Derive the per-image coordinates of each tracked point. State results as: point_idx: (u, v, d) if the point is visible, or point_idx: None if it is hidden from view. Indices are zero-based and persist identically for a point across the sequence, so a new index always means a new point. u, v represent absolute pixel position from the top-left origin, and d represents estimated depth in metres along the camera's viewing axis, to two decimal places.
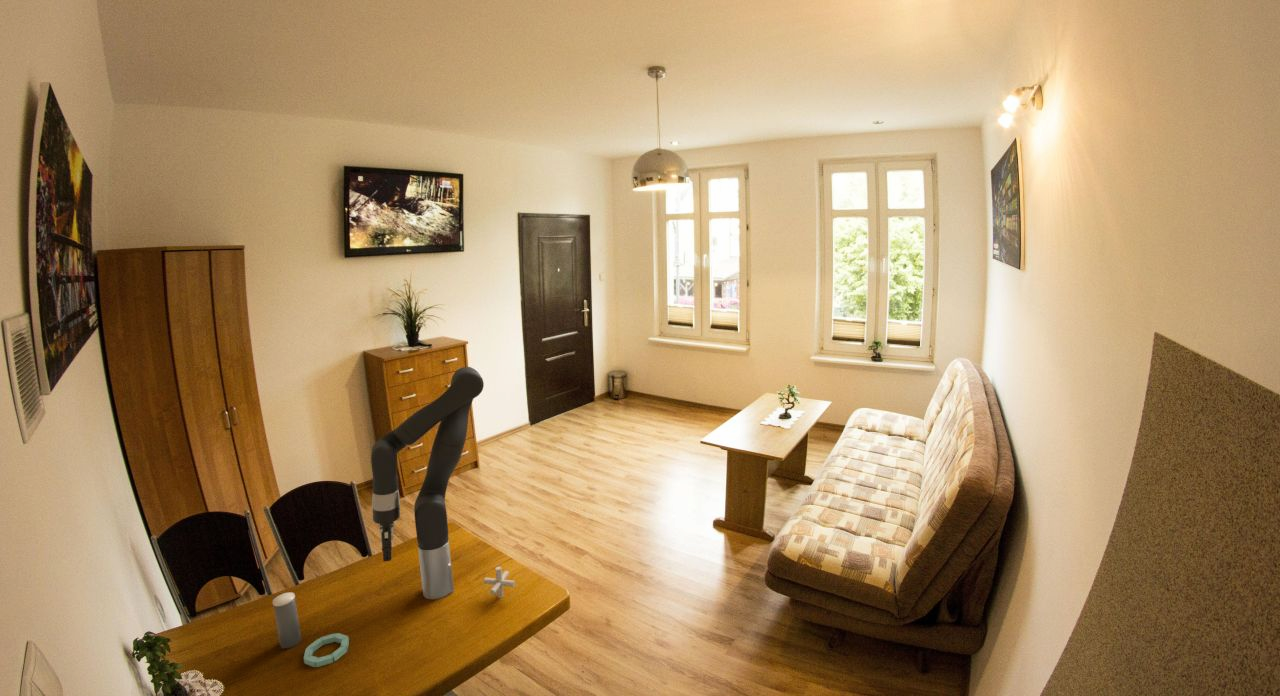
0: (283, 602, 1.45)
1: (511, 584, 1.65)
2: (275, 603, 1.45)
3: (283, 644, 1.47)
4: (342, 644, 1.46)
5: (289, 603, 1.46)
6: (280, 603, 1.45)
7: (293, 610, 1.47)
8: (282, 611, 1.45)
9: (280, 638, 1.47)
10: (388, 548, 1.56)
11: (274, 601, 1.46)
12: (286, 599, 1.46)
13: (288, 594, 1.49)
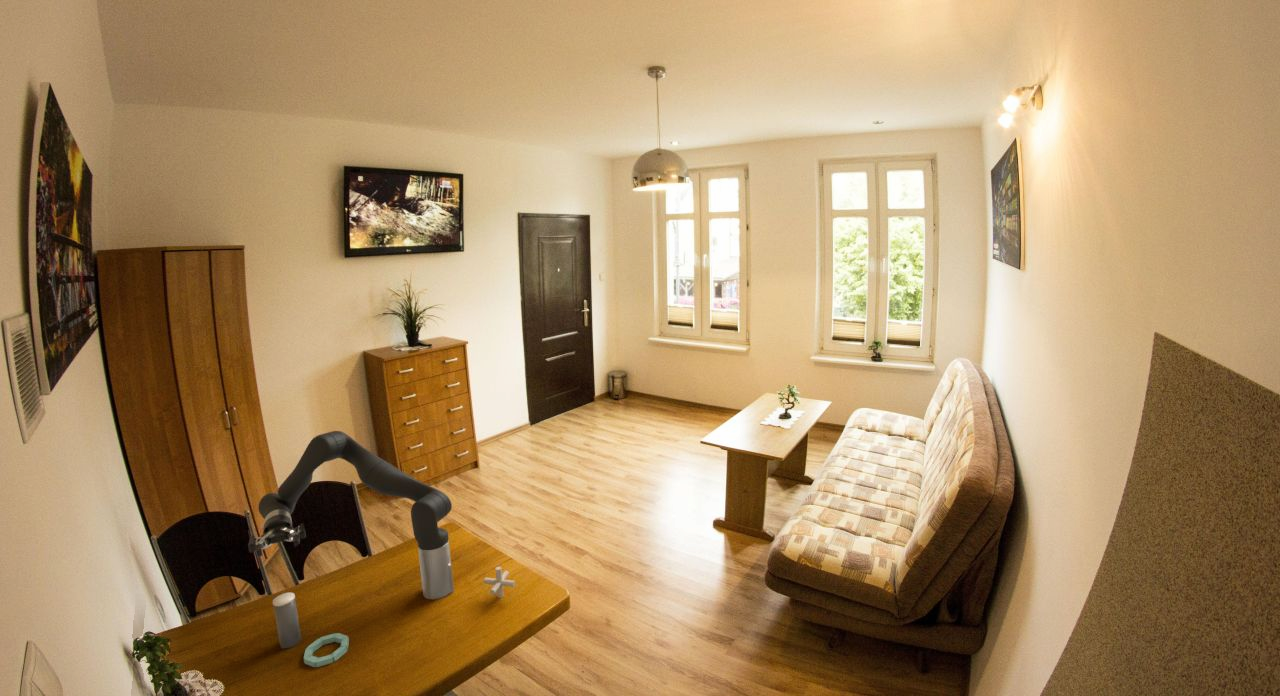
0: (283, 602, 1.45)
1: (511, 584, 1.65)
2: (275, 603, 1.45)
3: (283, 644, 1.47)
4: (342, 644, 1.46)
5: (289, 603, 1.46)
6: (280, 603, 1.45)
7: (293, 610, 1.47)
8: (282, 611, 1.45)
9: (280, 638, 1.47)
10: None
11: (274, 601, 1.46)
12: (286, 599, 1.46)
13: (288, 594, 1.49)
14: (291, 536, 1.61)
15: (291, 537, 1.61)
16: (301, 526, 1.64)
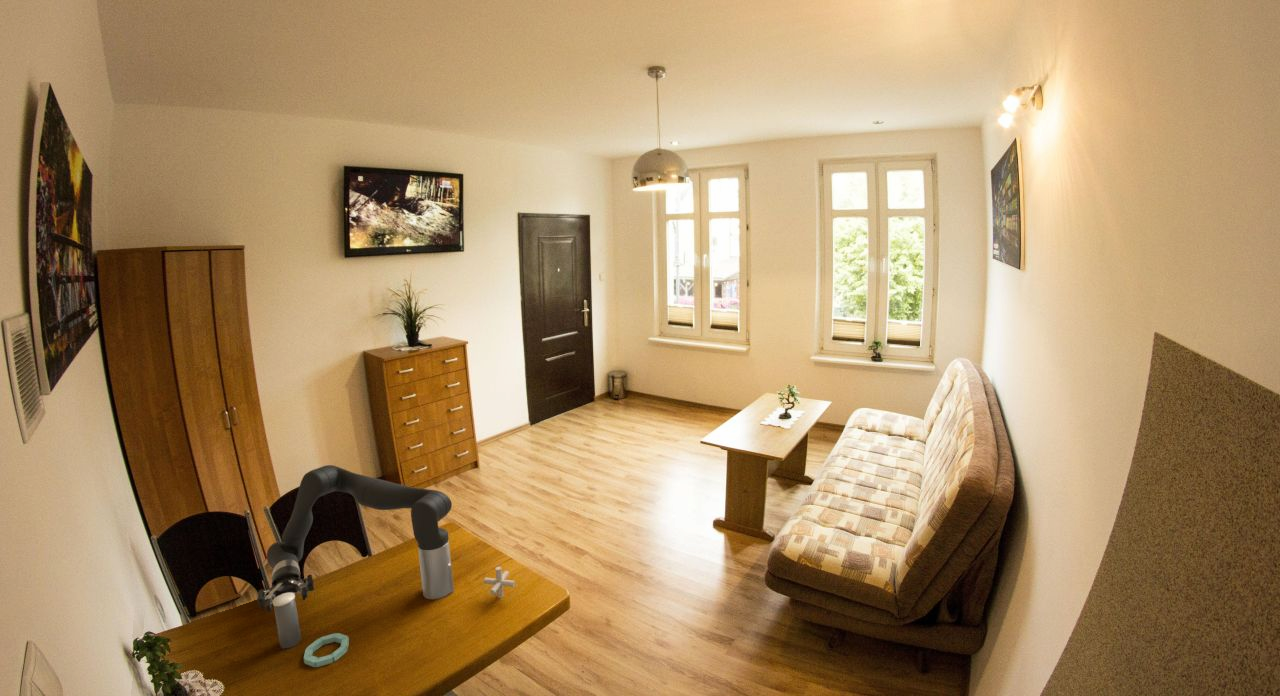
0: (283, 602, 1.45)
1: (511, 584, 1.65)
2: (275, 603, 1.45)
3: (283, 644, 1.47)
4: (342, 644, 1.46)
5: (289, 603, 1.46)
6: (280, 603, 1.45)
7: (293, 610, 1.47)
8: (282, 611, 1.45)
9: (280, 638, 1.47)
10: None
11: (274, 601, 1.46)
12: (286, 599, 1.46)
13: (288, 594, 1.49)
14: (299, 589, 1.61)
15: (299, 590, 1.61)
16: (309, 578, 1.65)
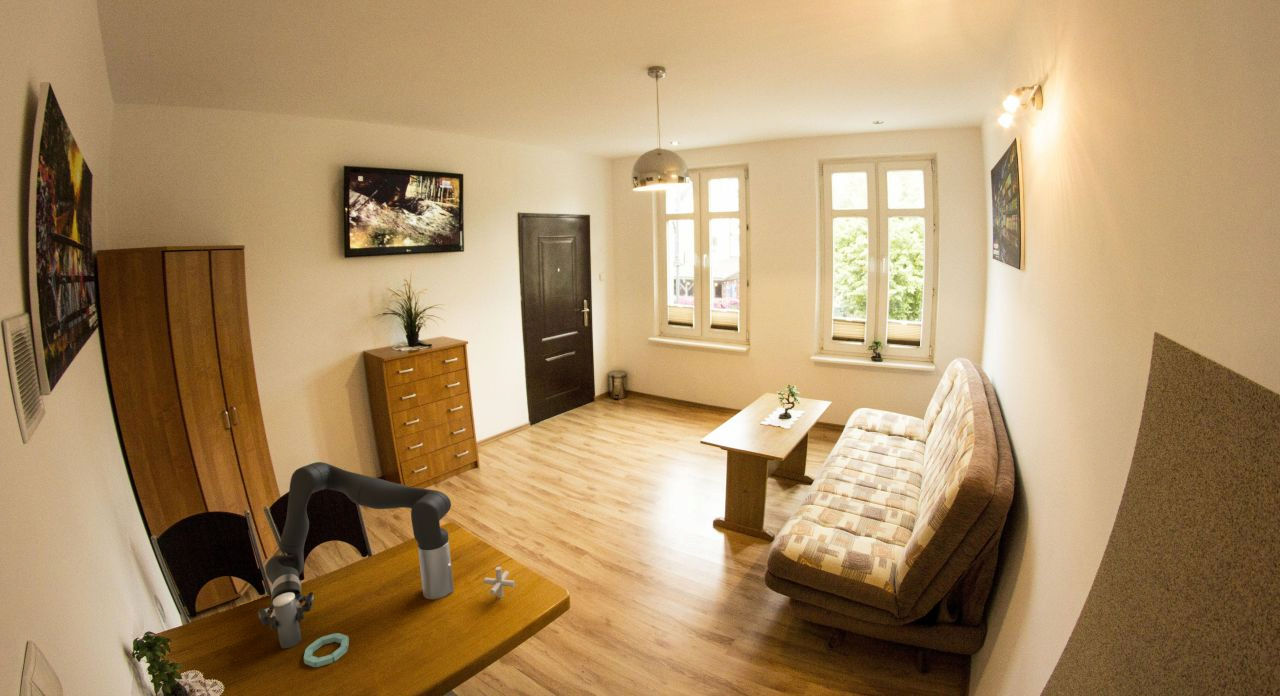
0: (283, 602, 1.45)
1: (511, 584, 1.65)
2: (275, 603, 1.45)
3: (283, 644, 1.47)
4: (342, 644, 1.46)
5: (289, 603, 1.46)
6: (280, 603, 1.45)
7: (293, 610, 1.47)
8: (282, 611, 1.45)
9: (280, 638, 1.47)
10: None
11: (274, 601, 1.46)
12: (286, 599, 1.46)
13: (288, 594, 1.49)
14: None
15: None
16: (309, 596, 1.55)
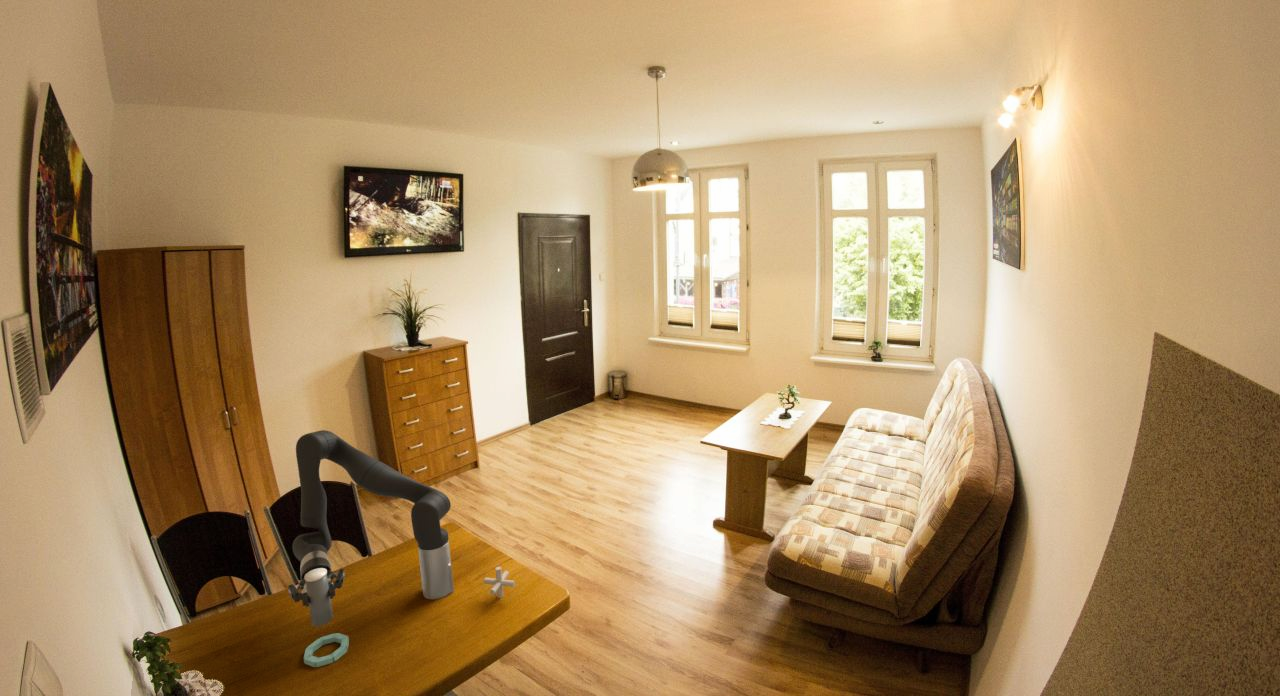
0: (315, 577, 1.39)
1: (511, 584, 1.65)
2: (307, 578, 1.39)
3: (315, 621, 1.41)
4: (342, 644, 1.46)
5: (321, 579, 1.40)
6: (312, 578, 1.39)
7: (325, 586, 1.41)
8: (314, 586, 1.39)
9: (311, 615, 1.41)
10: None
11: (306, 576, 1.40)
12: (318, 574, 1.41)
13: (320, 570, 1.43)
14: None
15: None
16: (340, 573, 1.50)
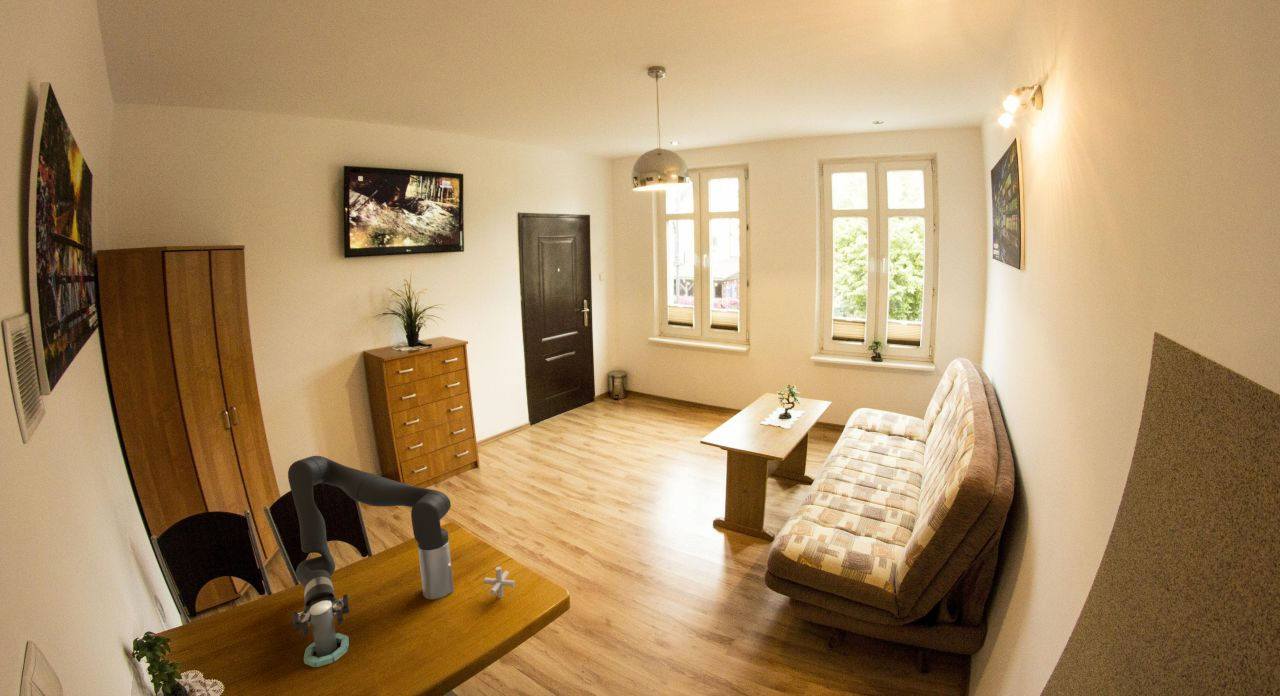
0: (320, 611, 1.41)
1: (511, 584, 1.65)
2: (312, 612, 1.41)
3: (320, 654, 1.43)
4: (342, 644, 1.46)
5: (326, 612, 1.42)
6: (317, 612, 1.41)
7: (330, 619, 1.43)
8: (319, 620, 1.41)
9: (316, 647, 1.43)
10: None
11: (311, 610, 1.42)
12: (323, 607, 1.42)
13: (325, 602, 1.45)
14: (334, 611, 1.48)
15: (334, 612, 1.48)
16: (345, 598, 1.52)
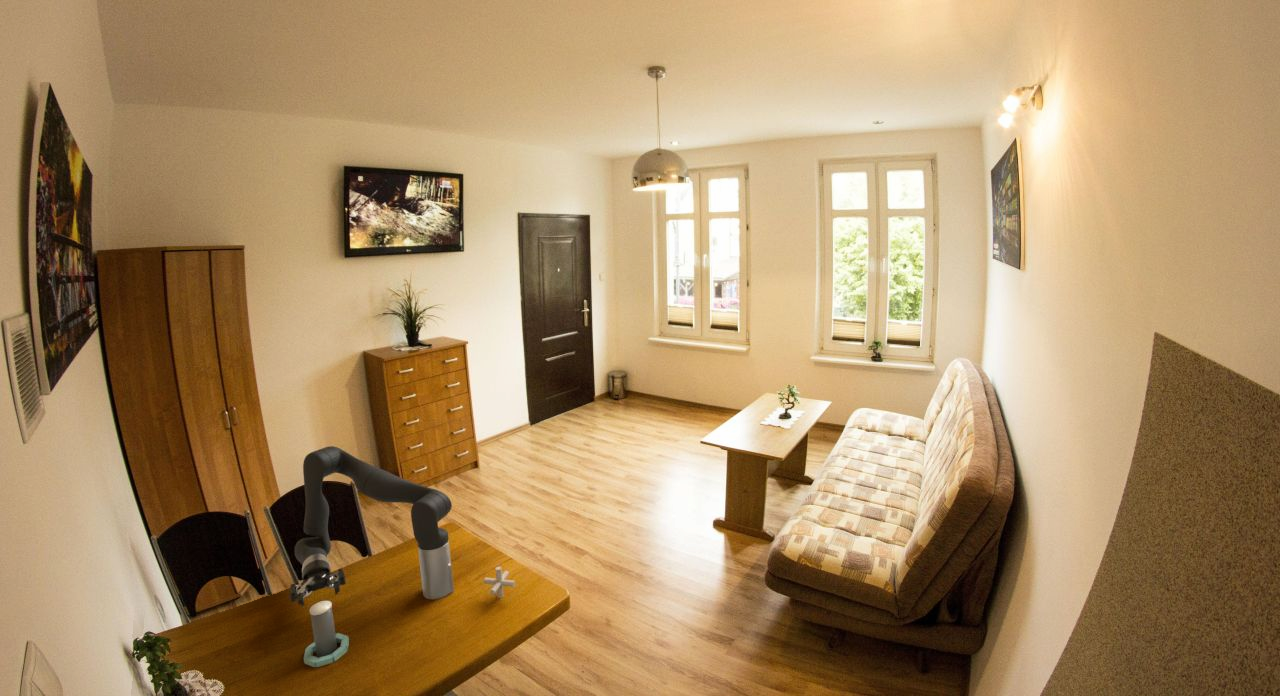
0: (320, 611, 1.41)
1: (511, 584, 1.65)
2: (312, 612, 1.41)
3: (320, 654, 1.43)
4: (342, 644, 1.46)
5: (326, 612, 1.42)
6: (317, 612, 1.41)
7: (330, 619, 1.43)
8: (319, 620, 1.41)
9: (316, 647, 1.43)
10: None
11: (311, 610, 1.42)
12: (323, 608, 1.42)
13: (324, 602, 1.45)
14: (331, 583, 1.59)
15: (331, 584, 1.59)
16: (340, 572, 1.63)
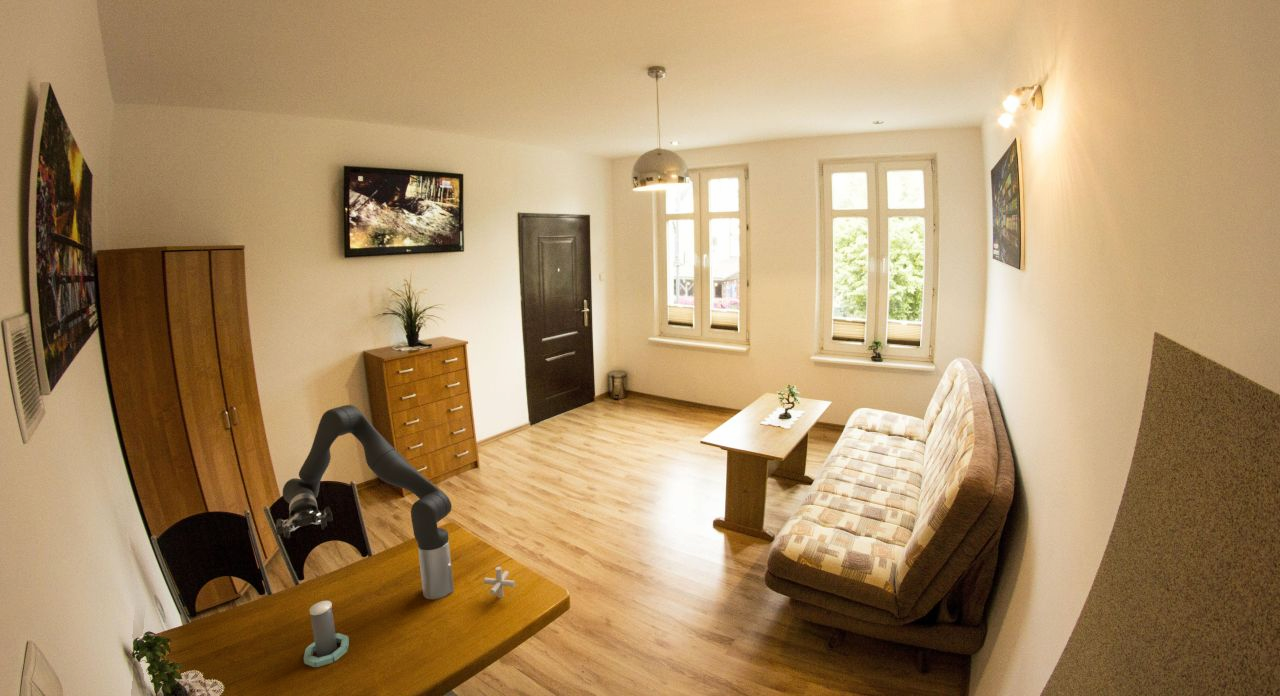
0: (320, 611, 1.41)
1: (511, 584, 1.65)
2: (312, 612, 1.41)
3: (320, 654, 1.43)
4: (342, 644, 1.46)
5: (326, 612, 1.42)
6: (317, 612, 1.41)
7: (330, 619, 1.43)
8: (319, 620, 1.41)
9: (316, 647, 1.43)
10: None
11: (311, 610, 1.42)
12: (323, 608, 1.42)
13: (324, 602, 1.45)
14: (318, 519, 1.59)
15: (318, 520, 1.59)
16: (327, 509, 1.62)
